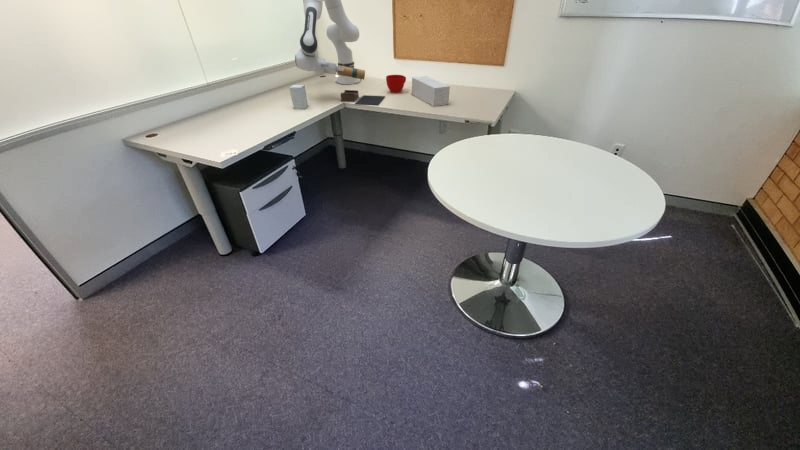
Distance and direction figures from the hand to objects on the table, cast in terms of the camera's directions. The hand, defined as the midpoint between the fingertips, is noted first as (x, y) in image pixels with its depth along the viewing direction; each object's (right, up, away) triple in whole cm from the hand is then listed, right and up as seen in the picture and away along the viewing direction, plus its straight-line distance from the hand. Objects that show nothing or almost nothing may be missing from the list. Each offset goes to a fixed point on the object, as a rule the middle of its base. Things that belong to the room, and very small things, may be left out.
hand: (343, 70), depth 210 cm
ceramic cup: (+35, -3, +24) cm, 42 cm away
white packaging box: (-26, -26, -6) cm, 37 cm away
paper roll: (+5, 0, +1) cm, 5 cm away
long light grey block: (+56, -15, +8) cm, 58 cm away
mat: (+17, -17, +5) cm, 24 cm away
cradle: (+3, -15, +8) cm, 17 cm away
